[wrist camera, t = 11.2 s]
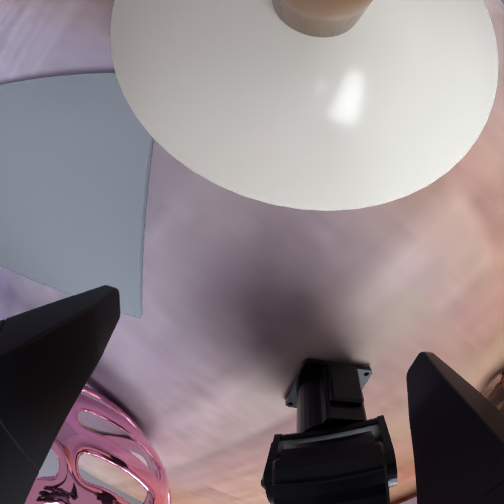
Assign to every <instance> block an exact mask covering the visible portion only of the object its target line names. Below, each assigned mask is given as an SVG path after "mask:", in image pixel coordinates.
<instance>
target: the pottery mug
mask: <svg viewBox="0 0 504 504" xmlns="http://www.w3.org/2000/svg"><path fill="white" fill-rule="evenodd" d="M488 400H489V401H490V402H491V403H492V404H493V405H495V406H496V407H497V408H498V409H500V411H501V412H502V413H504V373H503V374H502V378H501V382H500V383H498V384H497V386H496V387H495V389H494V390H493V392H492V393H491V395H490V396H489V398H488Z"/></svg>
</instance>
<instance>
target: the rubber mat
mask: <svg viewBox="0 0 504 504" xmlns="http://www.w3.org/2000/svg"><path fill="white" fill-rule="evenodd" d="M153 139H154V138H153V137H152V136H151V135H150V134H149V133H148V131H147V130H146V129H145V128H144V126H143V125H142V124H141V122H140V121H139V120H138V119H137V117H136V116H135V114H134V112H133V111H132V109H131V107H130V105H129V104H128V102H127V100H126V99H125V97H124V94H123V92H122V89H121V87H120V84H119V82H118V79H117V77H116V73H91V74H75V75H63V76H53V77H44V78H37V79H30V80H23V81H17V82H12V83H6V84H1V85H0V266H2V267H4V268H6V269H8V270H11V271H13V272H15V273H17V274H20V275H22V276H24V277H27V278H29V279H31V280H34V281H36V282H39V283H41V284H44V285H46V286H49V287H51V288H54V289H56V290H59V291H61V292H64V293H67V294H69V295H72V296H74V295H76V294H79V293H82V292H85V291H88V290H91V289H94V288H97V287H100V286H103V285H109V286H112V287H115V288H117V289H118V290H119V294H120V312H121V313H124V314H127V315H130V316H133V317H136V318H140V317H141V316H142V263H143V241H144V225H145V211H146V199H147V189H148V179H149V170H150V162H151V154H152V147H153Z"/></svg>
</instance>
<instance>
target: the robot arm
mask: <svg viewBox="0 0 504 504" xmlns="http://www.w3.org/2000/svg"><path fill="white" fill-rule="evenodd" d="M119 318H120V294H119V290H118V289H117V288H115V287H112V286H109V285H103V286H100V287H97V288H94V289H91V290H88V291H85V292H82V293H79V294H76V295H74V296H71V297H68V298H65V299H62V300H59V301H56V302H53V303H50V304H47V305H44V306H41V307H38V308H36V309H33V310H30V311H27V312H24V313H21V314H18V315H15V316H13V317H10V318H7V319H6V320H1V321H0V504H25V502H26V499H27V497H28V495H29V493H30V491H31V488H32V486H33V484H34V482H35V480H36V478H37V475H38V473H39V470H40V469H41V467H42V465H43V463H44V460H45V458H46V456H47V454H48V452H49V450H50V448H51V447H52V445H53V443H54V441H55V439H56V437H57V435H58V433H59V431H60V429H61V427H62V426H63V424H64V422H65V420H66V418H67V416H68V414H69V413H70V411H71V409H72V407H73V405H74V404H75V402H76V400H77V398H78V397H79V395H80V393H81V391H82V390H83V388H84V386H85V384H86V383H87V381H88V379H89V378H90V376H91V374H92V372H93V371H94V369H95V367H96V366H97V364H98V362H99V360H100V359H101V356H102V354H103V352H104V350H105V348H106V346H107V344H108V341H109V339H110V337H111V335H112V333H113V331H114V329H115V327H116V325H117V322H118V320H119ZM307 364H310V365H307ZM366 372H367V373H366ZM371 375H372V371H371V368H369V367H363V366H355V365H348V364H341V363H334V362H327V361H321V360H315V359H306V360H304V361H303V363H302V365H301V368H300V370H299V372H298V374H297V377H296V379H295V381H294V383H293V385H292V388H291V390H290V392H289V394H288V396H287V398H286V406H288V407H294V408H297V433H293V434H285V435H282V434H276V435H274V439H273V442H272V443H271V447H270V451H269V455H268V459H267V463H266V466H265V470H264V474H263V478H262V480H261V486H262V487H263V488H264V489H265V490H266V495H267V498H268V501H269V502H270V503H271V504H390V497H389V487H393V486H396V485H397V466H396V459H395V453H394V449H393V445H392V442H391V438H390V435H389V432H388V428H387V425H386V422H385V419H384V416H383V415H382V416H378V417H377V418H374V419H370V420H367V418H366V413H365V408H364V403H363V402H364V398H363V393H362V389H363V387H364V386H365V384H366V383H367V381H368V379H369V378H370V376H371ZM406 379H407V391H408V407H409V421H410V429H411V436H412V444H413V453H414V463H415V474H416V488H417V504H504V413H502V412H501V411H500V410H499V409H498V408H497V407H496V406H495V405H493V404H492V403H491V402H490V401H489V400H488V399H487V398H485V397H484V396H483V395H482V394H481V393H480V392H479V391H477V390H476V389H475V388H474V387H473V386H472V385H470V384H469V383H468V382H467V381H466V380H465V379H463V378H462V377H461V376H460V375H459V374H457V373H456V372H455V371H454V370H453V369H452V368H450V367H449V366H448V365H447V364H446V363H444V362H443V361H442V360H441V359H440V358H438V357H437V356H436V355H435V354H433V353H431V352H421V353H419V354H418V356H417V357H416V359H415V361H414V362H413V364H412V365H411V367H410V368H409V370H408V372H407V377H406Z"/></svg>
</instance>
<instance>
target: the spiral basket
mask: <svg viewBox="0 0 504 504" xmlns="http://www.w3.org/2000/svg"><path fill="white" fill-rule="evenodd" d="M81 392H83V393H85V394H88V395H90V396H92V397H93V398H95V399H97V400H99V401H100V402H102V403H104V404H105V405H106V406H105V405H103V404H101V403H99V402H97V401H95V400H93V399H91V398H88V397H86V396H84V395H82V394H81V393H80V395H79V397H78V398H77V400H76V402H75V404H74V405H73V407H72V409H71V411H70V413H69V414H68V416H67V418H66V420H65V422H64V424H63V426H62V427H61V429H60V431H59V433H58V435H57V437H56V439H55V441H54V443H53V445H52V447H51V448H52V449H53V450H54V451H55V452H56V454H57V456H58V460H59V471H58V473H57V474H56V475H54V476H48V477H37V478H36V480H35V482H34V484H33V486H32V488H31V491H30V493H29V495H28V497H27V499H26V502H25V504H130V503H129V502H127V501H126V500H125V499H123V498H122V497H120V496H118V495H117V494H115V493H113V492H111V491H109V490H107V489H105V488H103V487H100V486H98V485H95V484H92V483H89V482H87V481H85V480H84V479H83V478H82V477H81V476H80V473H79V470H78V460H79V457H80V456H81V455H82V454H90V455H93V456H96V457H98V458H101V459H103V460H105V461H107V462H109V463H111V464H113V465H115V466H117V467H119V468H120V469H122V470H123V471H125V472H126V473H128V474H129V475H131V476H132V477H133V478H134V479H135V480H137V481H138V482H139V483H140V484H141V485H142V486H143V487H144V488H145V490H146V491H147V496H146V499H145V501H144V503H143V504H171V488H170V483H169V479H168V476H167V473H166V470H165V467H164V465H163V463H162V461H161V459H160V457H159V456H158V454H157V452H156V451H155V449H154V448H153V447H152V445H151V444H150V443H149V441H148V439H147V438H146V436H145V435H144V433H143V432H142V430H141V429H140V428H139V427H138V425H137V424H136V423H135V422H134V421H133V420H132V418H131V417H130V416H129V415H128V414H127V413H126V412H125V411H123V410H122V409H121V408H120V407H119V406H118V405H116V404H115V403H114V402H112V401H111V400H110V399H108V398H107V397H105V396H104V395H102V394H101V393H99V392H97V391H95V390H93V389H92V388H90V387H88V386H84V388H83V390H82V391H81ZM107 406H108V407H109V408H108V407H107ZM110 408H111V409H110ZM79 411H85V412H89V413H91V414H94V415H96V416H98V417H100V418H102V419H104V420H106V421H108V422H110V423H111V424H113V425H115V426H116V427H118V428H119V429H121V430H122V431H123V432H125V433H126V434H127V435H129V436H130V437H131V438H132V439H130V438H126V437H121V436H114V435H99V434H96V433H94V432H92V431H89V430H88V429H86V428H84V427H83V426H82V425H81V424H80V423H79V421H78V419H77V413H78V412H79ZM126 449H127V450H126ZM128 450H130V451H133V452H135V453H137V454H139V455H141V456H142V457H143V458H144V459H145V460H146V462H147V464H148V467H149V468H148V467H147V466H146V465H145V464H144V463H143V462H142V461H141V460H139V459H138V458H137V457H136V456H135V455H133V454H132V453H131V452H129V451H128Z"/></svg>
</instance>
